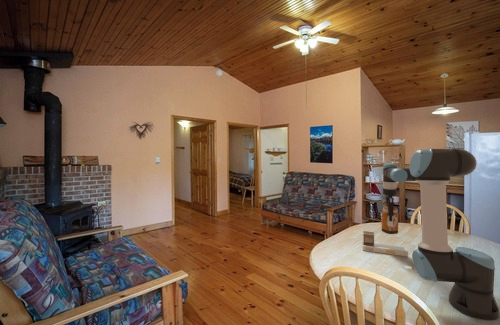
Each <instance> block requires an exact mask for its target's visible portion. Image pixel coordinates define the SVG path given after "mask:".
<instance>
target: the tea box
mask: <svg viewBox="0 0 500 325" xmlns="http://www.w3.org/2000/svg"><path fill="white" fill-rule="evenodd" d="M362 236H363V237H362V238H363V241H362V242H363V243H362V246H363V245H366V246H374V244H375V232H374V231H367V230H364V231H363V234H362Z"/></svg>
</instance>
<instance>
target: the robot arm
mask: <svg viewBox="0 0 500 325" xmlns="http://www.w3.org/2000/svg"><path fill="white" fill-rule="evenodd" d="M476 159H477V158H476V157H475V155H474V154H472V153H471V152H470V151H468V150H465V149H461V148H425V149H418V150H415V152H414V153H413V154H412V156H411V158H410V161H409V166H408V167H398V164H397V163H393V162H392V163H389V162H388V163H387V162H386V163H384V164H383V165H382V166H383V167H382V194H383V195H385V201H387V205H388V214H387V216H388V226H393V216H394V211H393V202H394V200H395V199H394V197H395V196H396V195H397V193H398V190H397V188H398V185H399V183H403V182H416V183H418V184H419V187H420V215H421V219H420V220H421V241H420V242H419V243H417V249H414V250H412V253H411V257H412V263H413V266H414V269H415V270H416V272H417V274H418V275H419V277H420V278H421V279H423V280H425V281H432V282H435V283H436V282H445V283H446V282H447V283H454V284H453V285H452V287H451V289H450V292H449V294H448V302H449V305H451V307H453V308H454V309H456V310H457V311H459V312H460V313H463V314H465V315H467V316H470V317H473V318H476V319H480V320H485V321H486V320H487V321H492V320H493V321H495V320H497V319H499V317H500V308H499V306H498V303H497V301H496V297H495V296H494V295H495V294H494V287H495V270H496V265H495V260H494V259H493V257H492V256H491V255H489V254H487V253H485V252H483V251H480V250H477V249H474V248H471V247H465V246H456V247H455V249H453V247H451V246H450V245H449V240H448V213H447V212H448V211H447V210H448V209H447V187H446V186H447V185H448V184H449V183H450V182H451V177H452V178H453V177H456V178H457V177H463V176H464V177H465V176H468V175H470V174H472V173H473V172H474V171H475V170H476V167H477V166H478V164H477V162H478V161H477V160H476Z"/></svg>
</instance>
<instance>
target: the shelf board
mask: <svg viewBox="0 0 500 325" xmlns="http://www.w3.org/2000/svg"><path fill="white" fill-rule="evenodd" d="M361 243H362V251H364V252H365V251H366V252H371V253H373V252H374V253H379V254H380V253H381V254H389V255H394V256H400V257H401V256H403V257H407V259H408V258H409V251H408V250H406V249H405V247H403V246H397V245H388V244H381V243H380V244H379V243H374V246H366V245H363V241H362V242H361Z"/></svg>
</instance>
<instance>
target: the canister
mask: <svg viewBox="0 0 500 325" xmlns="http://www.w3.org/2000/svg"><path fill="white" fill-rule="evenodd" d="M398 210H399V209H398V207H396V206H395V202H394V201H393V211H394V216H393V226H388V216H387V214H388V205H387V201H386V200H385V201H384V203H383V206H382V211H381V231H382V232H383V233H385V234H387V235H395V234H396V235H397V234H399V217H400V216H399V212H398Z"/></svg>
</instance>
